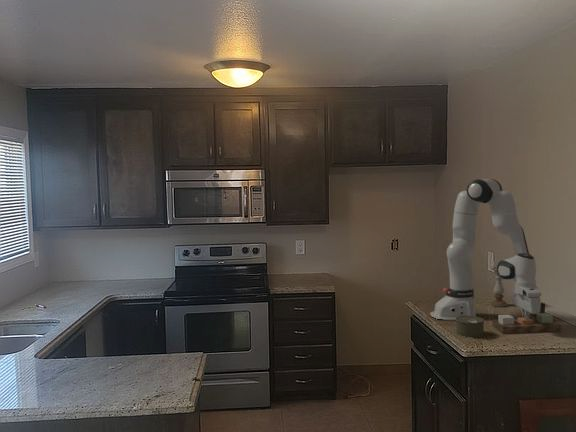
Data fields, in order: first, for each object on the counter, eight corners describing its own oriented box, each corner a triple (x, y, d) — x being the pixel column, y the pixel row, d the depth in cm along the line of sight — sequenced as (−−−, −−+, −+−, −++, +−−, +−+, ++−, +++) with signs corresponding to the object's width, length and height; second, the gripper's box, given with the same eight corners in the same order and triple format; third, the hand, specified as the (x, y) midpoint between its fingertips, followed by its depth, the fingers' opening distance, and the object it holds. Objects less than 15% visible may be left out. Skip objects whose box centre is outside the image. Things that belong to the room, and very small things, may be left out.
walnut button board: (503, 333, 240) (503, 327, 240) (492, 326, 252) (492, 320, 252) (560, 331, 241) (560, 324, 240) (546, 323, 253) (546, 317, 252)
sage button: (541, 323, 244) (541, 316, 243) (536, 320, 249) (536, 313, 248) (552, 323, 244) (552, 315, 244) (547, 320, 249) (547, 313, 249)
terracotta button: (522, 328, 244) (522, 320, 243) (517, 324, 249) (517, 317, 248) (533, 327, 244) (533, 320, 243) (528, 324, 249) (528, 317, 248)
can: (475, 329, 248) (475, 314, 248) (489, 337, 236) (489, 321, 236) (451, 331, 247) (451, 316, 246) (463, 339, 235) (463, 323, 234)
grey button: (503, 325, 243) (502, 317, 243) (498, 322, 248) (498, 315, 248) (513, 325, 243) (513, 317, 243) (509, 322, 248) (508, 314, 248)
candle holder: (496, 302, 296) (496, 266, 295) (511, 305, 289) (510, 268, 288) (487, 305, 291) (486, 268, 290) (501, 308, 284) (501, 270, 283)
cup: (526, 319, 261) (526, 303, 260) (532, 316, 266) (532, 300, 265) (542, 322, 255) (542, 305, 255) (547, 319, 260) (547, 302, 260)
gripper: (508, 284, 255) (508, 313, 256) (529, 294, 235) (529, 325, 236) (521, 284, 255) (521, 312, 256) (543, 293, 235) (543, 324, 236)
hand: (525, 318), depth 246 cm, fingers closed, pressing on terracotta button
